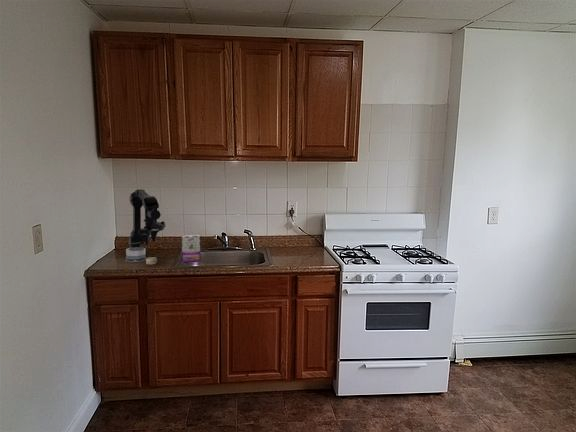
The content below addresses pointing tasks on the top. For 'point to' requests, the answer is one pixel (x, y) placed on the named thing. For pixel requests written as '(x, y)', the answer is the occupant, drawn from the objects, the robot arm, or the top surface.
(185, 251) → the candy bar box
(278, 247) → the top surface
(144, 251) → the canister
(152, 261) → the lid
